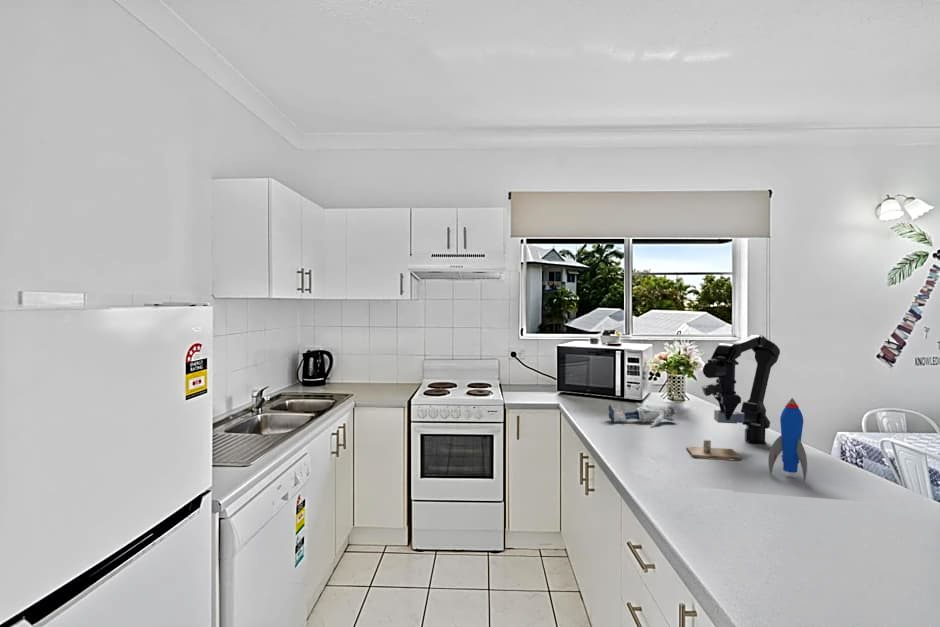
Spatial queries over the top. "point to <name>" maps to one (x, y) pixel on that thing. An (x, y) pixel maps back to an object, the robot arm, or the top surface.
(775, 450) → the toy rocket
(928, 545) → the top surface
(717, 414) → the link
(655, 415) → the toy
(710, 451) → the board
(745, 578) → the top surface
